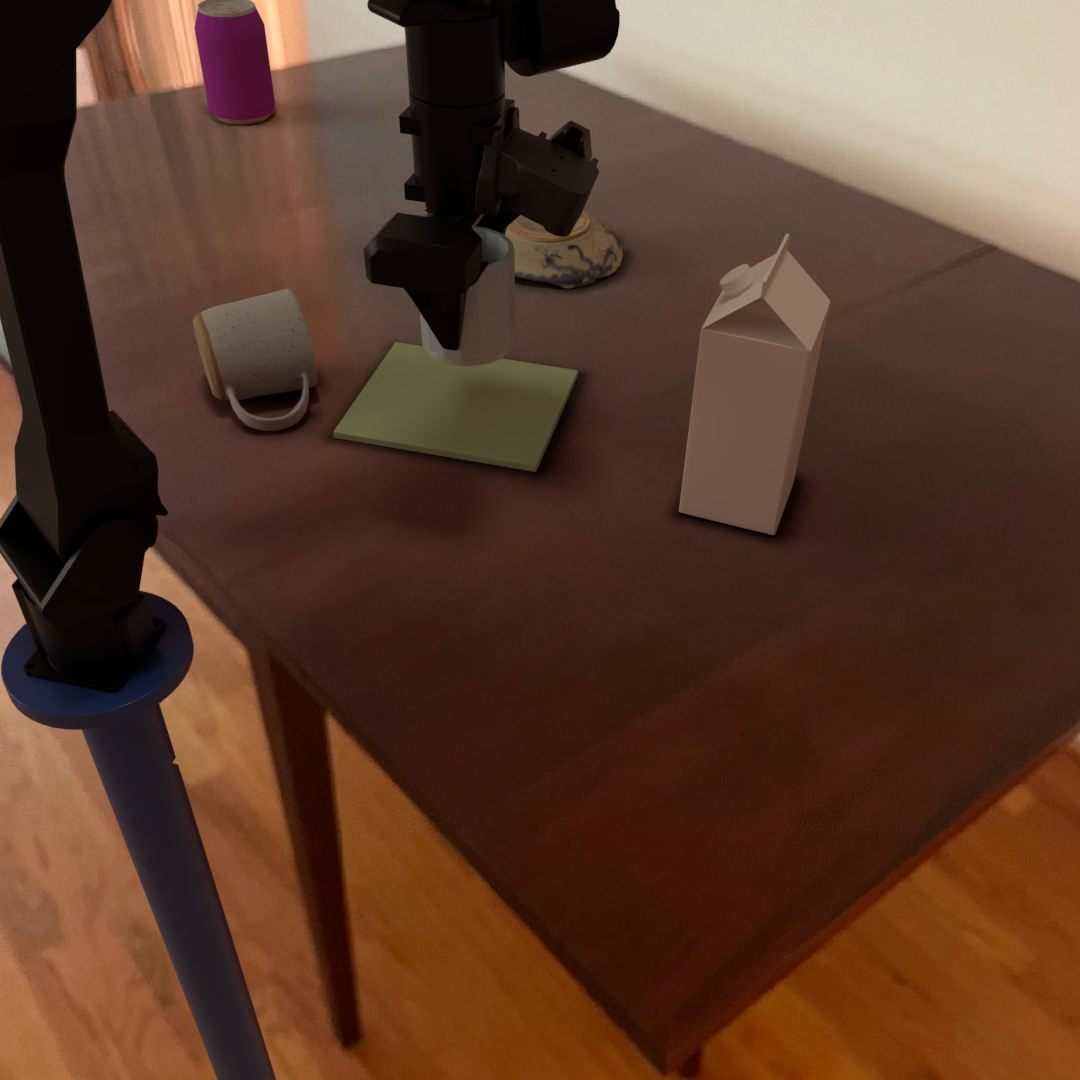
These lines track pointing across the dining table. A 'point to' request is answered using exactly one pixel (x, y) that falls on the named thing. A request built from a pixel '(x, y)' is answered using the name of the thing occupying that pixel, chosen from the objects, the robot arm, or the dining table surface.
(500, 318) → the container
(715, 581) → the dining table surface
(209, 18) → the beverage can
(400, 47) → the dining table surface
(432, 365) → the mat
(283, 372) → the ceramic mug
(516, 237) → the decorative bowl
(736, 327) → the milk carton
